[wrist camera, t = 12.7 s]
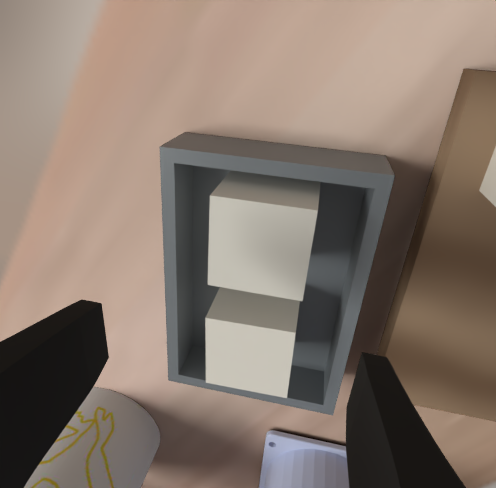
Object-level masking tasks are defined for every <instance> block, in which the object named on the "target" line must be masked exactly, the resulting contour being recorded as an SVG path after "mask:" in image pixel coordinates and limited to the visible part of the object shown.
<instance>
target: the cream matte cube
mask: <svg viewBox="0 0 496 488" xmlns="http://www.w3.org/2000/svg"><path fill="white" fill-rule="evenodd" d="M299 304H300V301H298V300H292V299H286V298H280V297H275V296H269V295H263V294H257V293H252V292H246V291H240V290H234V289H229V288H223V287H220V288H219V290H218V292H217V294H216V297H215V299H214V301H213V303H212V305H211V307H210V309H209V311H208V313H207V316H206V318H205V328H206V383H210V384H216V385H221V386H226V387H231V388H236V389H241V390H247V391H252V392H257V393H262V394H267V395H272V396H278V397H283V398H287V394H288V386H289V379H290V371H291V364H292V357H293V349H294V342H295V335H296V327H297V319H298V312H299Z"/></svg>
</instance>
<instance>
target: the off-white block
mask: <svg viewBox="0 0 496 488" xmlns="http://www.w3.org/2000/svg"><path fill="white" fill-rule="evenodd" d="M479 191H480V192H481V193H482V194H483V195H484V196H485V197H486V198H487V199H488V200H489V201H490V202H491V203H492V204H493V205H494V206H495V207H496V147H495V149H494V152H493V155H492V157H491V160H490V163H489V166H488V168H487V171H486V174H485V176H484V179H483V182H482V184H481V187H480V190H479Z"/></svg>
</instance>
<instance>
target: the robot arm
mask: <svg viewBox="0 0 496 488" xmlns="http://www.w3.org/2000/svg"><path fill="white" fill-rule="evenodd" d="M108 358H109V356H108V348H107V341H106V334H105V326H104V319H103V311H102V304H101V303H97V302H92V301H86V300H80V301H78V302H76V303H73V304H71V305H69V306H68V307H66V308H64V309H62V310H60V311H58V312H56V313H54V314H52V315H50V316H49V317H47V318H45V319H43V320H41V321H39V322H37V323H36V324H34V325H32V326H30V327H28V328H26V329H24V330H22V331H20V332H18V333H17V334H15V335H13V336H11V337H9V338H7V339H5V340H3V341H1V342H0V488H24V487H25V485H26V483H27V482H28V480H29V479H30V477H31V476H32V474H33V473H34V471H35V469H36V468H37V466H38V465H39V464H40V462H41V461H42V459H43V458H44V456H45V455H46V454H47V452H48V451H49V449H50V448H51V447H52V445H53V444H54V442H55V441H56V440H57V438H58V437H59V435H60V434H61V433H62V431H63V430H64V428H65V427H66V426H67V424H68V423H69V421H70V420H71V419H72V417H73V416H74V414H75V413H76V412H77V410H78V409H79V407H80V406H81V404H82V403H83V402H84V400H85V399H86V397H87V396H88V394H89V393H90V391H91V390H92V388H93V386H94V384H95V383H96V381H97V379H98V377H99V375H100V373H101V372H102V370H103V368H104V366H105V364H106V362H107V360H108ZM259 488H466V487H465V486H464V484H463V483H462V481H461V480H460V479H459V477H458V476H457V474H456V473H455V471H454V470H453V468H452V467H451V465H450V464H449V462H448V461H447V459H446V458H445V456H444V455H443V453H442V452H441V450H440V448H439V447H438V445H437V444H436V442H435V441H434V439H433V437H432V436H431V434H430V432H429V431H428V429H427V427H426V426H425V424H424V422H423V421H422V419H421V417H420V416H419V414H418V412H417V411H416V409H415V407H414V405H413V404H412V402H411V400H410V398H409V396H408V395H407V393H406V391H405V389H404V387H403V386H402V384H401V382H400V380H399V378H398V376H397V374H396V372H395V370H394V368H393V366H392V364H391V363H390V361H389V359H388V358H387V357H384V356H379V355H374V354H368V353H363V352H362V354H361V358H360V361H359V365H358V369H357V372H356V376H355V379H354V383H353V386H352V390H351V394H350V397H349V401H348V404H347V414H346V446H342V445H337V444H333V443H328V442H324V441H319V440H315V439H310V438H306V437H301V436H297V435H293V434H288V433H284V432H279V431H275V430H271V431H268V432H267V434H266V440H265V447H264V454H263V461H262V468H261V475H260V482H259Z"/></svg>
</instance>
